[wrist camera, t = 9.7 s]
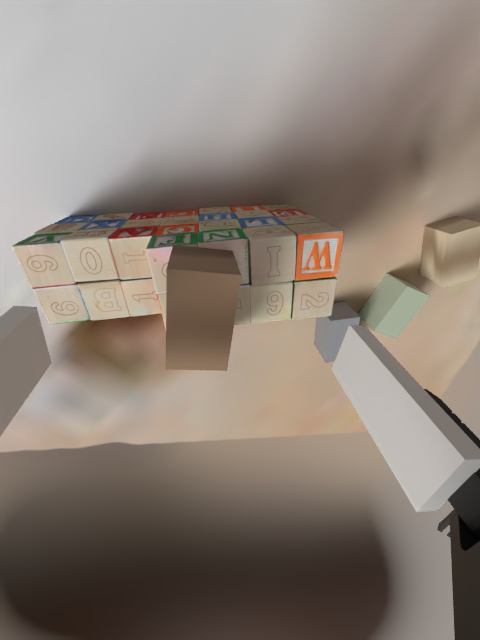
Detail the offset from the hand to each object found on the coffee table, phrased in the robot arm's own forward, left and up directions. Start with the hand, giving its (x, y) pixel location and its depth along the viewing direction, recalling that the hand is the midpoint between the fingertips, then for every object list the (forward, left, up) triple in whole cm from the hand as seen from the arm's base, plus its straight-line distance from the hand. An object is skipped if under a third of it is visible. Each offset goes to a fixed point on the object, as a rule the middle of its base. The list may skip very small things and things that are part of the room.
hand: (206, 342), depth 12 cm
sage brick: (+5, +23, -19) cm, 30 cm away
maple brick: (-2, +27, -19) cm, 33 cm away
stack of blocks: (+1, -1, -19) cm, 19 cm away
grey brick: (+9, +17, -19) cm, 27 cm away
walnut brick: (+1, 0, -6) cm, 6 cm away
